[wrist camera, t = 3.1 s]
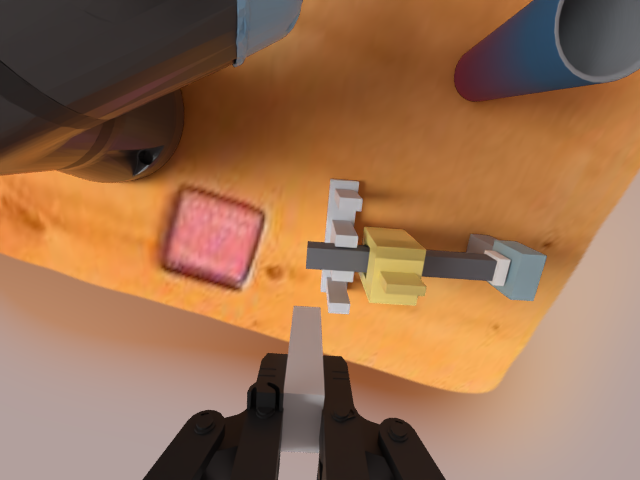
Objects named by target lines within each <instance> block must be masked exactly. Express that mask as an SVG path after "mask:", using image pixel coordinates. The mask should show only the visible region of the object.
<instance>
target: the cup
mask: <svg viewBox="0 0 640 480" xmlns="http://www.w3.org/2000/svg"><path fill="white" fill-rule="evenodd" d="M638 69H640V0H533V1H532V2H531V3H529V4H528V5H527V6H526V7H524V8H523V9H522V10H520V11H519V12H518V13H517V14H515V15H514V16H513V17H511V18H510V19H509V20H508V21H506V22H505V23H504V24H502V25H501V26H500V27H499V28H497V29H496V30H495V31H493V32H492V33H491V34H490V35H488V36H487V37H486V38H484V39H483V40H482V41H480V42H479V43H478V44H477V45H475V46H474V47H473V48H471V49H470V50H469V51H468V52H466V53H465V54H464V55H463V56H462V57H461V59H460V60H459V62H458V64H457V66H456V69H455V74H454V82H455V87H456V89H457V91H458V92H459V94H460V95H461V96H462V97H463V98H465V99H467V100H469V101H476V102H477V101H484V100H491V99H498V98H505V97H511V96H518V95H525V94H532V93H539V92H545V91H552V90H559V89H566V88H573V87H580V86H586V85H593V84H600V83H606V82H612V81H616V80H619V79H622V78H624V77H627V76H628V75H630V74H632V73H634V72H635V71H637V70H638Z"/></svg>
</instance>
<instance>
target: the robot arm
mask: <svg viewBox="0 0 640 480" xmlns="http://www.w3.org/2000/svg"><path fill="white" fill-rule="evenodd" d="M302 2H303V0H0V175H11V174H21V173H31V172H42V171H52V170H56V171H60V172H63V173H66V174H69V175H72V176H75V177H79V178H82V179H85V180H89V181H94V182H101V183H118V182H125V181H130V180H136V179H139V178H143V177H145V176H148V175H150V174H152V173H153V172H155V171H157V170H158V169H159V168H161V167H162V166H163V165H164V164H165V163H166V162H167V161H168V160H169V159H170V157H171V156H172V154H173V153H174V151H175V150H176V148H177V145H178V143H179V141H180V138H181V134H182V130H183V123H184V107H183V99H182V95H181V91H180V88H182V87H184V86H186V85H188V84H190V83H192V82H195V81H197V80H199V79H201V78H203V77H205V76H208V75H210V74H212V73H214V72H216V71H219V70H221V69H223V68H225V67H227V66H229V65H233V66H234V67H237V66H239V65H241V64H242V63H243V62H244V60H245V58H246V57H248V56H250V55H252V54H254V53H255V52H257V51H259V50H261V49H263V48H265V47H267V46H269V45H271V44H273V43H275V42H276V41H278V40H280V39H282V38H284V37H285V36H286V35H287V34H288V33H289V32H290V31H291V30H292V29H293V27H294V26H295V23H296V21H297V19H298V17H299V15H300V11H301V4H302ZM280 451H285V452H308V453H319V464H318V473H317V480H446V479H445V478H444V476H443V475H442V473H441V471H440V470H439V468H438V467H437V465H436V463H435V462H434V460H433V459H432V457H431V456H430V454H429V452H428V451H427V449H426V448H425V446H424V445H423V443H422V441H421V440H420V438H419V437H418V435H417V433H416V432H415V430H414V429H413V428H412V427H411V426H410V425H409V424H408V423H407V422H405V421H404V420H401V419H398V418H388V419H385V420H384V421H383V422H382V423H381V424H377V423H374V422H370V421H368V420H366V419H364V418H363V417H362V416H360V415H359V414H358V412H357V410H356V409H355V407H354V404H353V398H352V391H351V385H350V380H349V374H348V366H347V363H346V362H345V360H344V359H343V358H342V356H324V355H323V350H322V330H321V309H320V307H304V306H294V309H293V317H292V325H291V334H290V342H289V351H288V354H274V353H268V354H267V355H266V356H265V357H264V358H263V359H262V361H261V365H260V370H259V374H258V378H257V382H256V383H254V384H253V385H252V386H250V388H249V390H248V392H247V409H246V410H245V411H243V412H242V413H240V414H238V415H234V416H231V417H226V418H224V417H223V416H222V414H221V413H219V412H217V411H214V410H205V411H201V412H199V413H197V414H195V415H193V416H192V417H191V418H190V419H189V420H188V421H187V422H186V424H185V425H184V426H183V427H182V429H181V430H180V431H179V433H178V434H177V435H176V437H175V438H174V439H173V441H172V442H171V443H170V445H169V446H168V447H167V448H166V450H165V451H164V452H163V454H162V455H161V456H160V458H159V459H158V460H157V461H156V463H155V464H154V465H153V467H152V468H151V469H150V471H149V472H148V473H147V475H146V476H145V477H144V479H143V480H278V474H279V465H280Z"/></svg>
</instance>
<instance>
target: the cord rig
mask: <svg viewBox="0 0 640 480" xmlns="http://www.w3.org/2000/svg"><path fill="white" fill-rule="evenodd" d="M358 188H359V182H358V181H353V180H340V179H330V189H329V200H328V211H327V222H326V233H325V243H324V242H310V241H308V247H307V260H306V269H320V270H322V278H321V292H326V293H327V303H328V313H339V314H349V309H350V301H349V297H348V293H347V283H348V282H353V276H354V272H364V273H367V268H368V261H369V253H370V247H369V246H366V245H357V243H358V235H357V233H356V231H355V229H354V223H355V214H356V211H361V210H362V202H363V199H362V198H361V197H360V196H359V195H358ZM546 258H547V256H546V255H544V254H542V253H540V252H538V251H536V250H533V249H531V248H529V247H527V246H525V245H523V244H521V243H518V242H516V241H504V240H497V239H495V238H493V237H491V236H489V235H479V234H470V238H469V242H468V247H467V251H466V253H464V252H450V251H436V250H426V255H425V260H424V265H423V271H422V276H424V277H439V278H454V279H468V280H483V281H487V282H488V283H489V284H491V285H492V286H493V287H495V288H496V289H497V290H499V291H500V292H501V293H502V294H504V295H505V296H506V297H508V298H509V299H511V300H526V301H534V297H535V294H536V291H537V287H538V284H539V281H540V277H541V274H542V271H543V268H544V264H545V261H546Z"/></svg>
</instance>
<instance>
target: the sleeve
mask: <svg viewBox="0 0 640 480" xmlns="http://www.w3.org/2000/svg"><path fill="white" fill-rule="evenodd" d="M362 245H366V246H369V247H370V253H369V261H368V268H367V273H364V272H359V276H360V279H361V281H362V284H363V287H364V290H365V292H366V295H367V298H368V300H369V303H382V304H397V305H413V306H416V303H417V298H418V296H425V292H426V285H425V284H424V283H423V282H422V280H421V276H422V271H423V265H424V260H425V255H426V249H425V248H424V247H423V246H422V245H420V244H419V243H418V242H417V241H416V240H415V239H414V238H413V237H412V236H410V235H409V234H408V233H407V232H406V231H405V230H404V229H391V228H377V227H364V233H363V241H362Z"/></svg>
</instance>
